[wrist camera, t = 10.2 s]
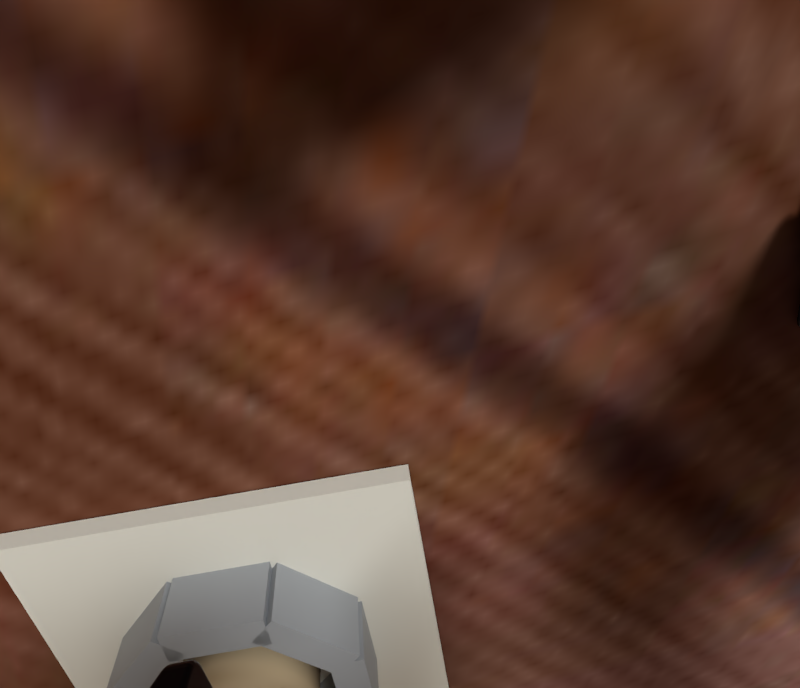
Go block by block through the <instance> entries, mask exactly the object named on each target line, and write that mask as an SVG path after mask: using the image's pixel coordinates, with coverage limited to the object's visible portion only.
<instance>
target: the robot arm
mask: <svg viewBox="0 0 800 688" xmlns="http://www.w3.org/2000/svg"><path fill="white" fill-rule="evenodd" d="M797 323H798V326H799V327H800V306H799V312H798V318H797ZM150 688H213V687H212V685H211V683H210V682H209V680H208V678H207V676H206V674H205V672H204V670H203V668H202V667H201V665H200V664H199V662H197V661H196V660H187V661H182V662H176V663H171V664H169V665H167V666H166V667H164V668H163V669H162V671H161V672H160V673H159V675H158V676H157V677H156V679H155V680H154V682H153V683H152V685H151V686H150Z"/></svg>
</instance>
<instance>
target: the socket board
mask: <svg viewBox="0 0 800 688" xmlns="http://www.w3.org/2000/svg"><path fill="white" fill-rule="evenodd" d="M0 570H1V572H2V573H3V575H4V577H5V578H6V580H7V581H8V583H9V584H10V586H11V588H12V589H13V591H14V592H15V594H16V595H17V597H18V599H19V600H20V602H21V603H22V605H23V606H24V608H25V610H26V611H27V613H28V614H29V616H30V617H31V619H32V621H33V622H34V624H35V625H36V627H37V628H38V630H39V632H40V633H41V635H42V636H43V638H44V639H45V641H46V643H47V644H48V646H49V647H50V649H51V650H52V652H53V654H54V655H55V657H56V658H57V660H58V661H59V663H60V665H61V666H62V668H63V669H64V671H65V672H66V674H67V676H68V677H69V679H70V680H71V682H72V683H73V685H74V687H75V688H150V686H151V685H152V683H153V682H154V680H155V679H156V677H157V676H158V675H159V673H160V672H161V671H162V669H163V668H164V667H166V666H167V665H169V664H171V663H176V662H182V661H183V659H189V658H195V657H201V656H207V655H213V654H218V653H224V652H230V651H236V650H242V649H248V648H253V647H259V646H262V647H265V648H267V649H270V650H273V651H275V652H278V653H281V654H283V655H286V656H289V657H291V658H294V659H297V660H299V661H302V662H305V663H307V664H310V665H312V666H315V667H318V668H320V669H321V673H320V688H449V686H448V680H447V675H446V669H445V664H444V659H443V653H442V648H441V642H440V637H439V631H438V626H437V620H436V615H435V609H434V604H433V599H432V593H431V588H430V582H429V577H428V571H427V566H426V560H425V555H424V549H423V544H422V538H421V533H420V528H419V522H418V517H417V511H416V506H415V500H414V495H413V489H412V484H411V478H410V473H409V468H408V464H406V465H401V466H395V467H389V468H383V469H377V470H371V471H366V472H360V473H354V474H348V475H342V476H336V477H331V478H325V479H319V480H313V481H307V482H301V483H296V484H290V485H284V486H278V487H272V488H266V489H260V490H255V491H249V492H243V493H237V494H231V495H225V496H220V497H214V498H208V499H202V500H196V501H190V502H185V503H179V504H173V505H167V506H161V507H155V508H150V509H144V510H138V511H132V512H126V513H120V514H114V515H109V516H103V517H97V518H91V519H85V520H79V521H74V522H68V523H62V524H56V525H50V526H44V527H39V528H33V529H27V530H21V531H15V532H9V533H4V534H0Z"/></svg>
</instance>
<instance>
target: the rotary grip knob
mask: <svg viewBox="0 0 800 688" xmlns="http://www.w3.org/2000/svg"><path fill="white" fill-rule="evenodd" d="M187 660H196V661H197V662H199V664H200V665H201V667H202V668H203V670H204V672H205V674H206V676H207V678H208V680H209V682H210V683H211V685H212V687H213V688H320V673H321V669H320V668H318V667H315V666H312V665H310V664H307V663H305V662H302V661H299V660H297V659H294V658H291V657H289V656H286V655H283V654H281V653H278V652H275V651H273V650H270V649H267V648H265V647H262V646H259V647H253V648H248V649H242V650H236V651H230V652H224V653H218V654H213V655H207V656H201V657H195V658H189V659H183V661H187Z"/></svg>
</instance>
